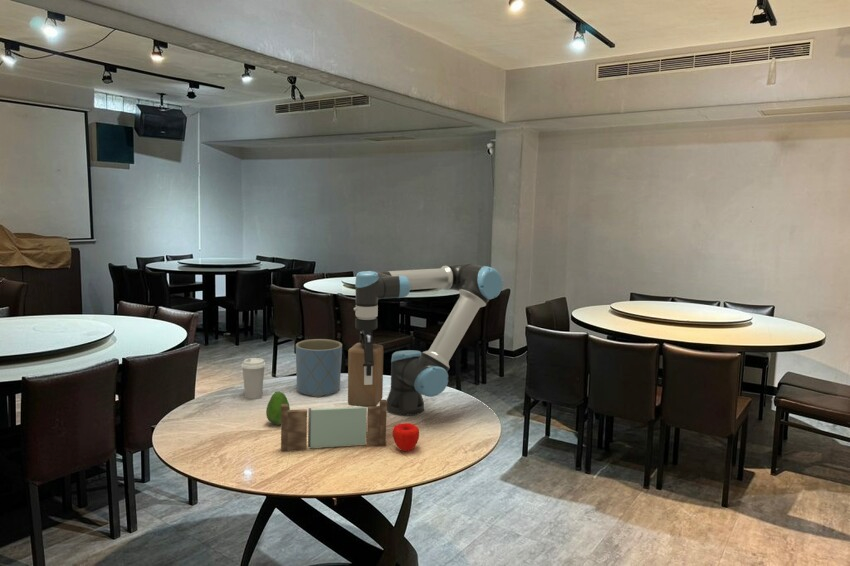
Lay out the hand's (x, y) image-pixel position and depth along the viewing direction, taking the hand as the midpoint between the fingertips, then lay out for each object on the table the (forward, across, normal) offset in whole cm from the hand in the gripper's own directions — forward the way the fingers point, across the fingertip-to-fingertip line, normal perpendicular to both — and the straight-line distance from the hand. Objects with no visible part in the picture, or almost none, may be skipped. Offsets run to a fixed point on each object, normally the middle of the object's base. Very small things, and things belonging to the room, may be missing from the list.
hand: (365, 378), depth 198 cm
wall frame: (+19, +11, -11) cm, 24 cm away
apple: (+20, +15, +11) cm, 27 cm away
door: (+19, +11, -10) cm, 24 cm away
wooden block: (+9, 0, 0) cm, 9 cm away
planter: (+20, -47, -14) cm, 53 cm away
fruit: (+19, -12, -30) cm, 37 cm away
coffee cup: (+19, -42, -40) cm, 61 cm away
